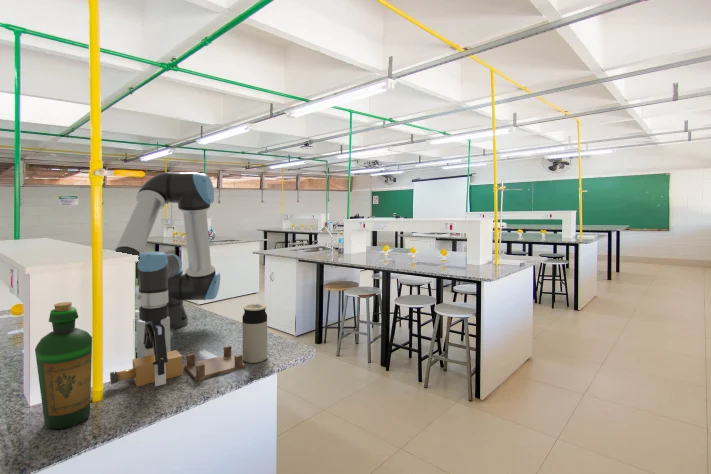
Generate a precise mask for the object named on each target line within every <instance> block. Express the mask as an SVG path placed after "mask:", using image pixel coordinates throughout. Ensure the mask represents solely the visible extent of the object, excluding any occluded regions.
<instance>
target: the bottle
mask: <svg viewBox="0 0 711 474" xmlns="http://www.w3.org/2000/svg"><path fill="white" fill-rule="evenodd" d="M53 306H54V309H51V310H50V313H49V318H48V322H49V323H51V324H52V325H51V326H52V331H50V332H49V333H47V334H46V335H44V336H43V337H41V339H40V340H39V341H38V343H37V345H36V346H35V348H34V351H35V361H36V368H37V375H38V383H39V389H40V390H39V391H40V399H41V406H42V413H43V421H44V426H45V427H46V428H48V429H50V430H58V429H59V430H61V429H66V428H67V429H68V428H71V427H73V426H76V425H78V424H80V423H82V422H84V421H85V420H86V419H88V418H89V417H90V415H91V394H92V391H91V390H92V361H93V360H92V358H93V357H92V354H93V336H92V335H91V334H90V333H89V332H88V331H86V330H83V329H81V328H78V327H76V320H77V319H79V315H78V311H77V307H75V306H72V302H71V301H69V302H68V301H65V302H58V303H55V304H53Z"/></svg>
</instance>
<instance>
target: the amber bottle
mask: <svg viewBox="0 0 711 474" xmlns="http://www.w3.org/2000/svg"><path fill="white" fill-rule="evenodd" d="M161 359H163V358H161ZM167 359H168V362H166V380H167V379H172V378H176V377H180V376H183V355H181V353H180V352H179V351H178V350H177V349H176V350H175V349H174V350H171V351H169V352H167ZM153 362H155V355H151V356H146V357H141V358H132V368H129V369H126V370H120V371H116V370H115V371H111V372H109V382H110V385H115V384H118V382H121V381H127V380H131V379H132V380H133V382H134V384H135V385H136V387H140V386H144V385H148V384H152V383H155V366H154V365H153Z"/></svg>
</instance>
